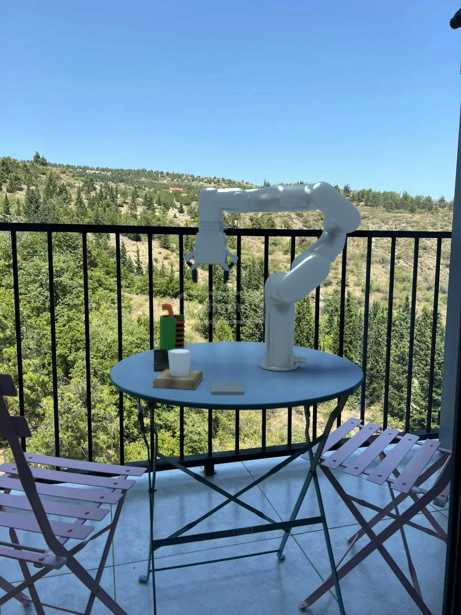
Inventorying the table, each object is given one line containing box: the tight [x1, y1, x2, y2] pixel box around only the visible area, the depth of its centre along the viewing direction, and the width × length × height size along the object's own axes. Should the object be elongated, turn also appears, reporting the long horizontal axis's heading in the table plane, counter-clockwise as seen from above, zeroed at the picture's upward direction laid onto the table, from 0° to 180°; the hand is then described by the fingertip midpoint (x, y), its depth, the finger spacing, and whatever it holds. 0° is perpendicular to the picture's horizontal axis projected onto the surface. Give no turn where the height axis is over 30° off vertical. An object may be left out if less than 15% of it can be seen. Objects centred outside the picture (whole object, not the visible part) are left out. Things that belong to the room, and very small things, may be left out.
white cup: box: [168, 348, 192, 377], centre depth 151 cm, size 7×7×7 cm
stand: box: [152, 369, 204, 391], centre depth 151 cm, size 12×12×2 cm
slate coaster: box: [210, 381, 245, 395], centre depth 145 cm, size 9×9×1 cm
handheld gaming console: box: [153, 348, 170, 373], centre depth 169 cm, size 12×7×10 cm
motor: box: [158, 302, 186, 352], centre depth 176 cm, size 10×9×20 cm
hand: (210, 282), depth 164 cm, fingers open, 9 cm apart
